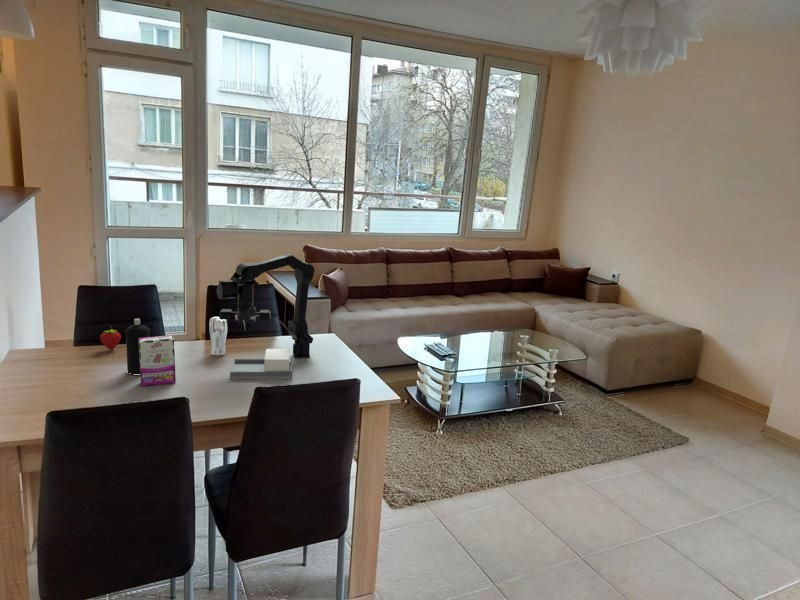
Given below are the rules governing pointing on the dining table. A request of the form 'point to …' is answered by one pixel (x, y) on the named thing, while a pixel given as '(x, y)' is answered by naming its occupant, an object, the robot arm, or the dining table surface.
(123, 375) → the dining table surface
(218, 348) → the beer glass
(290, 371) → the housing base
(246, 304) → the robot arm
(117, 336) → the strawberry
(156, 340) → the candy bar box
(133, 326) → the black bottle
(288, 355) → the cover
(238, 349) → the dining table surface
